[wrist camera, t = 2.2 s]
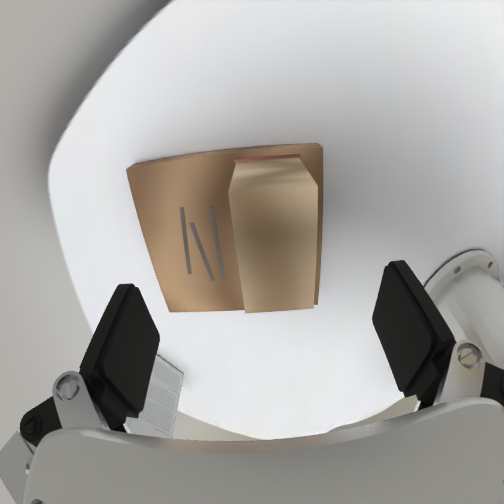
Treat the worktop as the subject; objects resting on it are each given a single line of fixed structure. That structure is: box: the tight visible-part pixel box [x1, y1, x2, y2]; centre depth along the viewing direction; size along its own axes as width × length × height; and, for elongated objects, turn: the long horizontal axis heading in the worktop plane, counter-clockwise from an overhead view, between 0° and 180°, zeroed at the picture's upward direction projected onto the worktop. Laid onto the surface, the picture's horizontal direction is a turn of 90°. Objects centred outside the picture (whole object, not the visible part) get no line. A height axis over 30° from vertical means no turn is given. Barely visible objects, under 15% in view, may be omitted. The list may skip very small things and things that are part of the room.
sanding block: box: [228, 154, 318, 313], centre depth 16 cm, size 4×7×6 cm, turn 5°
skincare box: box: [125, 354, 183, 439], centre depth 26 cm, size 6×4×12 cm
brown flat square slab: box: [126, 143, 323, 312], centre depth 20 cm, size 13×13×2 cm
